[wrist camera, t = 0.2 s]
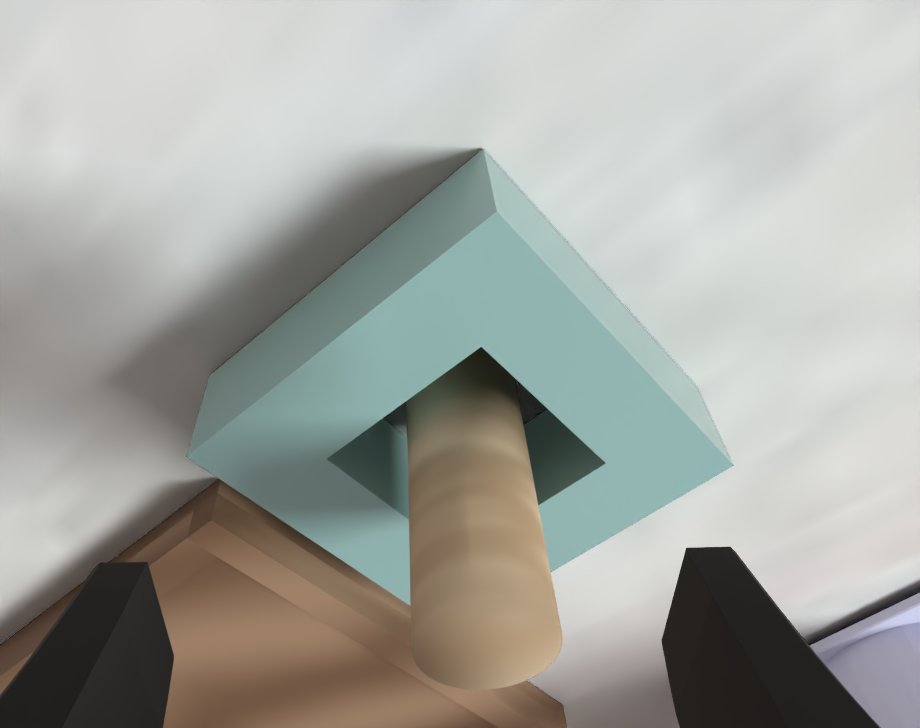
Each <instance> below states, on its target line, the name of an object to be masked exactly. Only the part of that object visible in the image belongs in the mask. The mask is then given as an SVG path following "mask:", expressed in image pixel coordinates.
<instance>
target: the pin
mask: <svg viewBox="0 0 920 728" xmlns="http://www.w3.org/2000/svg"><path fill="white" fill-rule="evenodd" d="M407 444H408V498H409V551H410V604H411V653H412V656H413V659H414V661H415V664H416V665H417V666H418V668H419V669H420V670H421V671H422V672H423V673H424V674H425V675H427V676H428V677H430V678H431V679H433V680H435V681H437V682H439V683H442V684H444V685H448V686H451V687H455V688H460V689H469V690H490V689H498V688H503V687H508V686H512V685H515V684H518V683H521V682H524V681H526V680H528V679H530V678H532V677H534V676H536V675H538V674H539V673H541V672H542V671H543V670H545V669H546V668H547V667H548V666H549V665H550V664H551V663H552V662H553V661H554V660H555V658H556V657H557V655H558V654H559V652H560V649H561V646H562V631H561V626H560V620H559V615H558V610H557V604H556V599H555V593H554V588H553V583H552V577H551V572H550V566H549V561H548V556H547V550H546V545H545V539H544V534H543V528H542V523H541V518H540V512H539V507H538V501H537V496H536V491H535V485H534V480H533V474H532V469H531V464H530V458H529V453H528V447H527V442H526V437H525V431H524V426H523V420H522V415H521V410H520V404H519V399H518V393H517V388H516V382H515V378H514V377H513V376H512V375H511V374H510V373H509V372H508V371H507V370H506V369H505V368H504V367H503V366H501V365H500V364H499V363H498V362H497V361H496V360H495V359H494V358H493V357H492V356H491V355H490V354H489V353H488V352H486V351H485V350H484V349H483V348H482V347H480V348H479V349H478V350H476V351H475V352H473V353H472V354H471V355H469V356H468V357H466V358H465V359H464V360H462V361H461V362H460V363H458V364H457V365H455V366H454V367H453V368H451V369H450V370H449V371H447V372H446V373H444V374H443V375H442V376H440V377H439V378H437V379H436V380H435V381H433V382H432V383H431V384H429V385H428V386H426V387H425V388H424V389H422V390H421V391H420V392H418V393H417V394H415V395H414V396H413V397H411V398H410V399H408V400H407Z"/></svg>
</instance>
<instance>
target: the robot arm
mask: <svg viewBox="0 0 920 728" xmlns="http://www.w3.org/2000/svg"><path fill="white" fill-rule="evenodd" d="M662 646H663V651H664V656H665V662H666V667H667V672H668V678H669V683H670V688H671V692H672V697H673V702H674V707H675V712H676V716H677V719H678V722H679V726H680V728H920V593H918V594H916V595H913V596H911V597H909V598H907V599H905V600H903V601H901V602H899V603H897V604H895V605H893V606H891V607H889V608H886V609H884V610H882V611H880V612H878V613H876V614H874V615H872V616H870V617H868V618H866V619H864V620H862V621H859V622H857V623H855V624H853V625H851V626H849V627H847V628H845V629H843V630H841V631H839V632H837V633H835V634H832V635H830V636H828V637H826V638H824V639H822V640H820V641H818V642H816V643H814V644H812V645H810V646H809V645H808V643H807V642H806V641H805V640H804V639H803V637H802V636H801V635H800V634H799V632H798V631H797V630H796V629H795V627H794V626H793V625H792V624H791V622H790V621H789V620H788V619H787V617H786V616H785V615H784V614H783V612H782V611H781V610H780V609H779V607H778V606H777V605H776V604H775V602H774V601H773V600H772V598H771V597H770V596H769V595H768V593H767V592H766V591H765V590H764V588H763V587H762V586H761V584H760V583H759V582H758V580H757V579H756V578H755V577H754V575H753V574H752V573H751V571H750V570H749V569H748V568H747V566H746V565H745V564H744V562H743V561H742V560H741V558H740V557H739V556H738V555H737V553H736V552H735V551H734V550H733V549H732V548H731V547H704V548H686V551H685V555H684V559H683V562H682V566H681V570H680V574H679V577H678V581H677V585H676V589H675V592H674V596H673V600H672V604H671V608H670V611H669V615H668V619H667V623H666V626H665V630H664V634H663V638H662ZM173 662H174V654H173V650H172V647H171V643H170V640H169V636H168V632H167V629H166V625H165V622H164V618H163V615H162V611H161V608H160V604H159V601H158V597H157V594H156V590H155V587H154V583H153V579H152V576H151V572H150V569H149V565H148V562H122V563H100V564H99V565H98V566H96V567H95V568H94V569H93V571H92V572H91V573H90V575H89V576H88V578H87V579H86V580H85V582H84V583H83V585H82V586H81V588H80V589H79V590H78V592H77V593H76V595H75V596H74V597H73V599H72V600H71V602H70V603H69V604H68V606H67V607H66V609H65V610H64V611H63V613H62V614H61V616H60V617H59V618H58V620H57V621H56V622H55V624H54V625H53V627H52V628H51V629H50V631H49V632H48V633H47V635H46V636H45V637H44V639H43V640H42V641H41V643H40V644H39V645H38V647H37V648H36V650H35V651H34V652H33V654H32V655H31V656H30V658H29V659H28V660H27V662H26V663H25V664H24V665H23V667H22V668H21V669H20V671H19V672H18V673H17V674H16V676H15V677H14V678H13V679H12V681H11V682H10V683H9V685H8V686H7V687H6V688H5V690H4V691H3V692H2V694H1V695H0V728H163V725H164V719H165V713H166V707H167V701H168V695H169V688H170V682H171V675H172V669H173Z"/></svg>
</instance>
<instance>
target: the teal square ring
mask: <svg viewBox="0 0 920 728" xmlns="http://www.w3.org/2000/svg"><path fill="white" fill-rule="evenodd" d="M480 347H482V348H483V349H484V350H485V351H486V352H488V353H489V354H490V355H491V356H492V357H493V358H494V359H495V360H496V361H497V362H498V363H499V364H500V365H501V366H503V367H504V368H505V369H506V370H507V371H508V372H509V373H510V374H511V375H512V376H513V377H514V378H515V379H516V380H517V381H519V382H520V383H521V384H522V385H523V386H524V387H525V388H526V389H527V390H528V391H529V392H530V393H531V394H532V395H533V396H535V397H536V398H537V399H538V400H539V401H540V402H541V403H542V404H543V405H544V406H545V407H546V408H547V410H545V411H544V412H542V413H541V414H539V415H538V416H536V417H535V418H533V419H532V420H530V421H529V422H527V423H526V424H524V425H523V426H524V431H525V437H526V442H527V447H528V453H529V458H530V464H531V469H532V474H533V480H534V485H535V491H536V496H537V501H538V507H539V512H540V518H541V523H542V528H543V534H544V539H545V545H546V550H547V556H548V561H549V566H550V572H552V571H554V570H555V569H557V568H559V567H560V566H562V565H564V564H566V563H567V562H569V561H571V560H573V559H574V558H576V557H578V556H579V555H581V554H583V553H585V552H586V551H588V550H590V549H591V548H593V547H595V546H597V545H598V544H600V543H602V542H603V541H605V540H607V539H609V538H610V537H612V536H614V535H615V534H617V533H619V532H621V531H622V530H624V529H626V528H627V527H629V526H631V525H633V524H634V523H636V522H638V521H639V520H641V519H643V518H645V517H646V516H648V515H650V514H651V513H653V512H655V511H657V510H658V509H660V508H662V507H663V506H665V505H667V504H669V503H670V502H672V501H674V500H675V499H677V498H679V497H681V496H682V495H684V494H686V493H687V492H689V491H691V490H693V489H694V488H696V487H698V486H699V485H701V484H703V483H705V482H706V481H708V480H710V479H711V478H713V477H715V476H717V475H718V474H720V473H722V472H723V471H725V470H727V469H729V468H730V467H732V466H734V465H733V463H732V460H731V458H730V456H729V454H728V452H727V450H726V447H725V445H724V443H723V441H722V439H721V436H720V434H719V432H718V430H717V428H716V426H715V423H714V421H713V419H712V417H711V415H710V412H709V410H708V408H707V406H706V404H705V402H704V399H703V397H702V395H701V393H700V391H699V388H698V387H697V386H696V385H695V384H694V383H693V381H692V380H691V379H690V378H689V377H688V376H687V375H686V374H685V372H684V371H683V370H682V369H681V368H680V367H679V366H678V365H677V364H676V362H675V361H674V360H673V359H672V358H671V357H670V356H669V355H668V354H667V352H666V351H665V350H664V349H663V348H662V347H661V346H660V345H659V343H658V342H657V341H656V340H655V339H654V338H653V337H652V336H651V335H650V333H649V332H648V331H647V330H646V329H645V328H644V327H643V326H642V325H641V323H640V322H639V321H638V320H637V319H636V318H635V317H634V316H633V315H632V313H631V312H630V311H629V310H628V309H627V308H626V307H625V306H624V304H623V303H622V302H621V301H620V300H619V299H618V298H617V297H616V296H615V294H614V293H613V292H612V291H611V290H610V289H609V288H608V287H607V286H606V284H605V283H604V282H603V281H602V280H601V279H600V278H599V277H598V275H597V274H596V273H595V272H594V271H593V270H592V269H591V268H590V267H589V265H588V264H587V263H586V262H585V261H584V260H583V259H582V258H581V257H580V255H579V254H578V253H577V252H576V251H575V250H574V249H573V248H572V246H571V245H570V244H569V243H568V242H567V241H566V240H565V239H564V238H563V236H562V235H561V234H560V233H559V232H558V231H557V230H556V229H555V228H554V226H553V225H552V224H551V223H550V222H549V221H548V220H547V219H546V218H545V216H544V215H543V214H542V213H541V212H540V211H539V210H538V209H537V207H536V206H535V205H534V204H533V203H532V202H531V201H530V200H529V199H528V197H527V196H526V195H525V194H524V193H523V192H522V191H521V190H520V189H519V187H518V186H517V185H516V184H515V183H514V182H513V181H512V180H511V178H510V177H509V176H508V175H507V174H506V173H505V172H504V171H503V170H502V168H501V167H500V166H499V165H498V164H497V163H496V162H495V161H494V160H493V158H492V157H491V156H490V155H489V154H488V153H487V152H486V151H485V149H484V148H483V149H482V150H481V151H480V152H478V153H477V154H476V155H475V156H474V157H472V158H471V159H470V160H469V161H468V162H466V163H465V164H464V165H463V166H462V167H460V168H459V169H458V170H457V171H456V172H454V173H453V174H452V175H451V176H450V177H448V178H447V179H446V180H445V181H443V182H442V183H441V184H440V185H439V186H437V187H436V188H435V189H434V190H433V191H431V192H430V193H429V194H428V195H427V196H425V197H424V198H423V199H422V200H421V201H419V202H418V203H417V204H416V205H415V206H413V207H412V208H411V209H410V210H409V211H407V212H406V213H405V214H404V215H402V216H401V217H400V218H399V219H398V220H396V221H395V222H394V223H393V224H392V225H390V226H389V227H388V228H387V229H386V230H384V231H383V232H382V233H381V234H380V235H378V236H377V237H376V238H375V239H374V240H372V241H371V242H370V243H369V244H368V245H366V246H365V247H364V248H363V249H361V250H360V251H359V252H358V253H357V254H355V255H354V256H353V257H352V258H351V259H349V260H348V261H347V262H346V263H345V264H343V265H342V266H341V267H340V268H339V269H337V270H336V271H335V272H334V273H333V274H331V275H330V276H329V277H328V278H327V279H325V280H324V281H323V282H322V283H320V284H319V285H318V286H317V287H316V288H314V289H313V290H312V291H311V292H310V293H308V294H307V295H306V296H305V297H304V298H302V299H301V300H300V301H299V302H298V303H296V304H295V305H294V306H293V307H292V308H290V309H289V310H288V311H287V312H285V313H284V314H283V315H282V316H281V317H279V318H278V319H277V320H276V321H275V322H273V323H272V324H271V325H270V326H269V327H267V328H266V329H265V330H264V331H263V332H261V333H260V334H259V335H258V336H257V337H255V338H254V339H253V340H252V341H251V342H249V343H248V344H247V345H246V346H244V347H243V348H242V349H241V350H240V351H238V352H237V353H236V354H235V355H234V356H232V357H231V358H230V359H229V360H228V361H226V362H225V363H224V364H223V365H222V366H220V367H219V368H218V369H217V370H216V371H214V372H213V373H212V374H211V375H210V376H209V378H208V382H207V385H206V389H205V392H204V396H203V399H202V403H201V406H200V410H199V413H198V417H197V420H196V424H195V428H194V431H193V435H192V438H191V442H190V445H189V449H188V452H187V456H186V457H187V458H189V459H190V460H192V461H193V462H195V463H196V464H198V465H199V466H201V467H202V468H204V469H205V470H207V471H208V472H210V473H211V474H213V475H214V476H216V477H217V478H219V479H220V480H222V481H223V482H225V483H226V484H228V485H229V486H231V487H232V488H234V489H235V490H237V491H238V492H240V493H241V494H243V495H244V496H246V497H247V498H249V499H250V500H252V501H253V502H255V503H256V504H258V505H259V506H261V507H262V508H264V509H265V510H267V511H268V512H270V513H271V514H273V515H274V516H276V517H277V518H279V519H280V520H282V521H283V522H285V523H286V524H288V525H289V526H291V527H292V528H294V529H295V530H297V531H298V532H300V533H301V534H303V535H304V536H306V537H307V538H309V539H310V540H312V541H313V542H315V543H316V544H318V545H319V546H321V547H323V548H324V549H326V550H327V551H329V552H330V553H332V554H333V555H335V556H336V557H338V558H339V559H341V560H342V561H344V562H345V563H347V564H348V565H350V566H351V567H353V568H354V569H356V570H357V571H359V572H360V573H362V574H363V575H365V576H366V577H368V578H369V579H371V580H372V581H374V582H375V583H377V584H378V585H380V586H381V587H383V588H384V589H386V590H387V591H389V592H390V593H392V594H393V595H395V596H396V597H398V598H399V599H401V600H402V601H404V602H405V603H407V604H408V605H410V606H411V604H410V551H409V498H408V444H407V437H406V436H404V435H403V434H402V433H401V432H399V431H398V430H397V429H396V428H394V427H393V426H392V425H391V424H389V423H388V422H387V421H386V420H384V419H383V418H384V417H385V416H386V415H388V414H389V413H391V412H392V411H393V410H395V409H396V408H397V407H399V406H400V405H402V404H403V403H404V402H406V401H407V400H408V399H410V398H411V397H413V396H414V395H415V394H417V393H418V392H420V391H421V390H422V389H424V388H425V387H426V386H428V385H429V384H431V383H432V382H433V381H435V380H436V379H437V378H439V377H440V376H442V375H443V374H444V373H446V372H447V371H449V370H450V369H451V368H453V367H454V366H455V365H457V364H458V363H460V362H461V361H462V360H464V359H465V358H466V357H468V356H469V355H471V354H472V353H473V352H475V351H476V350H478V349H479V348H480Z"/></svg>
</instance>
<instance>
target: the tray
mask: <svg viewBox="0 0 920 728" xmlns="http://www.w3.org/2000/svg"><path fill="white" fill-rule="evenodd" d="M122 562H148V565H149V569H150V572H151V576H152V579H153V583H154V587H155V590H156V594H157V597H158V601H159V604H160V608H161V611H162V615H163V618H164V622H165V625H166V629H167V632H168V636H169V640H170V643H171V647H172V650H173V654H174V662H173V669H172V675H171V682H170V688H169V695H168V701H167V707H166V713H165V719H164V725H163V728H567V726H566V720H565V714H564V708H563V705H562V704H561V703H559V702H558V701H556V700H555V699H553V698H552V697H550V696H549V695H547V694H546V693H544V692H543V691H541V690H540V689H538V688H537V687H535V686H534V685H532V684H531V683H529V682H528V681H524V682H521V683H518V684H515V685H512V686H508V687H503V688H498V689H490V690H469V689H460V688H455V687H451V686H448V685H444V684H442V683H439V682H437V681H435V680H433V679H431V678H430V677H428V676H427V675H425V674H424V673H423V672H422V671H421V670H420V669H419V668H418V666H417V665H416V664H415V661H414V659H413V656H412V653H411V606H410V605H408V604H407V603H405V602H404V601H402V600H401V599H399V598H398V597H396V596H395V595H393V594H392V593H390V592H389V591H387V590H386V589H384V588H383V587H381V586H380V585H378V584H377V583H375V582H374V581H372V580H371V579H369V578H368V577H366V576H365V575H363V574H362V573H360V572H359V571H357V570H356V569H354V568H353V567H351V566H350V565H348V564H347V563H345V562H344V561H342V560H341V559H339V558H338V557H336V556H335V555H333V554H332V553H330V552H329V551H327V550H326V549H324V548H323V547H321V546H319V545H318V544H316V543H315V542H313V541H312V540H310V539H309V538H307V537H306V536H304V535H303V534H301V533H300V532H298V531H297V530H295V529H294V528H292V527H291V526H289V525H288V524H286V523H285V522H283V521H282V520H280V519H279V518H277V517H276V516H274V515H273V514H271V513H270V512H268V511H267V510H265V509H264V508H262V507H261V506H259V505H258V504H256V503H255V502H253V501H252V500H250V499H249V498H247V497H246V496H244V495H243V494H241V493H240V492H238V491H237V490H235V489H234V488H232V487H231V486H229V485H228V484H226V483H225V482H223V481H222V480H220V479H219V480H217V481H216V482H215V483H213V484H212V485H211V486H209V487H208V488H207V489H205V490H204V491H203V492H201V493H200V494H199V495H197V496H196V497H195V498H194V499H192V500H191V501H190V502H188V503H187V504H186V505H184V506H183V507H182V508H180V509H179V510H178V511H176V512H175V513H174V514H172V515H171V516H170V517H169V518H167V519H166V520H165V521H163V522H162V523H161V524H159V525H158V526H157V527H155V528H154V529H153V530H151V531H150V532H149V533H147V534H146V535H145V536H144V537H142V538H141V539H140V540H138V541H137V542H136V543H134V544H133V545H132V546H130V547H129V548H128V549H126V550H125V551H124V552H122V553H121V554H120V555H119V556H117V557H116V558H115V559H113V560H112V561H111V562H109V563H122ZM84 582H85V581H84ZM84 582H83V583H84ZM83 583H82V584H80V585H79V586H78V587H76V588H75V589H74V590H73V591H71V592H70V593H69V594H67V595H66V596H65V597H63V598H62V599H61V600H59V601H58V602H57V603H55V604H54V605H53V606H51V607H50V608H49V609H48V610H46V611H45V612H44V613H42V614H41V615H40V616H38V617H37V618H36V619H34V620H33V621H32V622H30V623H29V624H28V625H26V626H25V627H24V628H23V629H21V630H20V631H19V632H17V633H16V634H15V635H13V636H12V637H11V638H9V639H8V640H7V641H5V642H4V643H3V644H1V645H0V695H1V694H2V692H3V691H4V690H5V688H6V687H7V686H8V685H9V683H10V682H11V681H12V679H13V678H14V677H15V676H16V674H17V673H18V672H19V671H20V669H21V668H22V667H23V665H24V664H25V663H26V662H27V660H28V659H29V658H30V656H31V655H32V654H33V652H34V651H35V650H36V648H37V647H38V645H39V644H40V643H41V641H42V640H43V639H44V637H45V636H46V635H47V633H48V632H49V631H50V629H51V628H52V627H53V625H54V624H55V622H56V621H57V620H58V618H59V617H60V616H61V614H62V613H63V611H64V610H65V609H66V607H67V606H68V604H69V603H70V602H71V600H72V599H73V597H74V596H75V595H76V593H77V592H78V590H79V589H80V588H81V586H82V585H83Z"/></svg>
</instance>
